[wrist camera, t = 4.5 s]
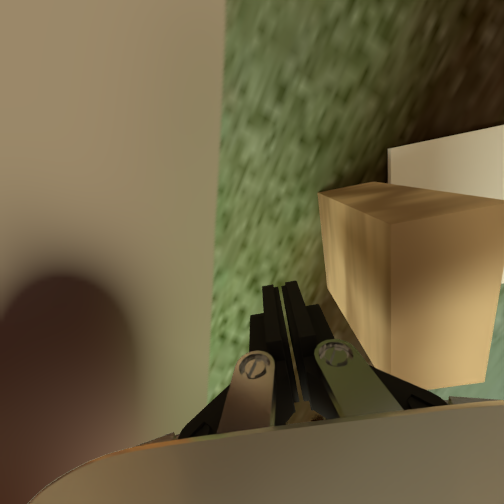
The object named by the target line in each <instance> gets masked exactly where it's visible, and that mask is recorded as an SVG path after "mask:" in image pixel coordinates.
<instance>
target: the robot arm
mask: <svg viewBox="0 0 504 504" xmlns="http://www.w3.org/2000/svg"><path fill="white" fill-rule="evenodd" d="M281 287H282V292H283V298H284V304H285V309H286V315H287V321H288V326H289V332H290V337H291V342H292V347H293V352H294V356H295V361H296V366H297V371H298V376H299V380H300V385H301V390H302V395H303V400H304V401H309V402H310V406H311V410H315V411H316V412H317V413H319V414H320V415H322V416H323V419H324V420H320V421H312V422H305V423H297V424H289V425H288V422H287V421H288V420H289V418H290V417H291V416H292V414H293V413H294V412H295V406H294V402H299V397H298V392H297V386H296V381H295V375H294V370H293V365H292V359H291V354H290V348H289V343H288V337H287V332H286V327H285V322H284V316H283V311H282V306H281V300H280V295H279V290H278V287H273V285H268V286H262V291H263V307H264V313H261V314H255V315H251V316H250V344H249V353H246V354H245V355H243V356H242V357H241V358H240V359H239V360H238V361H237V363H236V365H235V369H234V372H233V376H232V380H231V383H230V385H229V386H228V387H226V388H225V389H224V390H223V391H222V392H221V393H220V394H219V395H218V396H217V397H216V398H215V399H214V400H212V401H211V402H210V403H209V404H208V405H207V406H206V407H205V408H204V409H203V410H202V411H201V412H200V413H199V414H197V415H196V416H195V418H193V419H192V420H191V421H190V422H189V423H188V424H187V425H186V426H185V427H184V428H183V429H182V431H181V433H180V434H178V435H175V434H174V432H173V433H170V434H167V435H164V436H162V437H159V438H156V439H154V440H151V441H148V442H145V443H142V444H140V445H137V446H134V447H132V448H127V449H123V450H120V451H116V452H112V453H109V454H106V455H104V456H101V457H99V458H96V459H94V460H91V461H88V462H86V463H84V464H83V465H81V466H79V467H77V468H75V469H73V470H71V471H69V472H67V473H65V474H64V475H62V476H61V477H59V478H57V479H56V480H55V481H53V482H52V483H50V484H49V485H47V486H46V487H45V488H44V489H43V490H41V491H40V492H39V493H38V494H37V495H35V497H33V499H32V500H31V501H30V502H29V503H28V504H504V400H494V399H480V398H467V397H453V396H449V400H443V399H441V398H440V397H439V396H437V395H435V394H433V393H431V392H430V391H427V390H425V389H423V388H420V387H418V386H416V385H413V384H411V383H409V382H407V381H404V380H402V379H400V378H397V377H395V376H393V375H390V374H388V373H386V372H384V371H381V370H379V369H377V368H374V367H372V366H370V365H368V364H367V362H366V361H365V360H364V359H363V357H362V356H361V355H360V353H359V352H358V351H357V350H356V348H355V347H354V346H352V345H351V344H350V343H348V342H346V341H343V340H339V339H334V336H333V334H332V332H331V330H330V328H329V325H328V323H327V321H326V319H325V317H324V315H323V312H322V310H321V308H320V306H319V304H316V305H310V306H305V304H304V301H303V298H302V295H301V292H300V290H299V287H298V284H297V281H291V282H285V286H281Z"/></svg>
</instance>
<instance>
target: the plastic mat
mask: <svg viewBox="0 0 504 504" xmlns="http://www.w3.org/2000/svg"><path fill="white" fill-rule="evenodd" d="M388 184H395V185H402V186H409V187H416V188H423V189H430V190H437V191H444V192H451V193H458V194H465V195H472V196H480V197H487V198H494V199H501V200H504V125H500V126H495V127H490V128H486V129H481V130H476V131H471V132H466V133H462V134H457V135H452V136H447V137H442V138H437V139H433V140H428V141H423V142H418V143H413V144H409V145H404V146H399V147H394V148H389V149H388ZM502 283H504V268H503V274H502V280H501V284H502Z"/></svg>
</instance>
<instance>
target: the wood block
mask: <svg viewBox="0 0 504 504" xmlns="http://www.w3.org/2000/svg"><path fill="white" fill-rule="evenodd" d="M318 201H319V211H320V220H321V230H322V239H323V249H324V259H325V268H326V278H327V287H328V290H329V291H330V293H331V295H332V296H333V298H334V300H335V301H336V303H337V305H338V306H339V308H340V310H341V311H342V313H343V315H344V316H345V318H346V320H347V321H348V323H349V325H350V326H351V328H352V330H353V331H354V333H355V335H356V336H357V338H358V340H359V342H360V343H361V345H362V347H363V348H364V350H365V352H366V353H367V355H368V357H369V358H370V360H371V362H372V363H373V365H374V367H375V368H377V369H379V370H381V371H384V372H386V373H388V374H390V375H393V376H395V377H397V378H400V379H402V380H404V381H407V382H409V383H411V384H413V385H416V386H418V387H420V388H423V389H425V390H429V389H437V388H444V387H451V386H459V385H466V384H474V383H481V382H484V381H485V375H486V369H487V363H488V357H489V351H490V345H491V340H492V334H493V328H494V322H495V316H496V310H497V304H498V298H499V292H500V286H501V280H502V274H503V268H504V200H501V199H494V198H487V197H480V196H472V195H465V194H458V193H451V192H444V191H437V190H430V189H423V188H416V187H409V186H402V185H395V184H387V183H380V182H368V183H363V184H358V185H353V186H348V187H343V188H338V189H333V190H328V191H323V192H318Z"/></svg>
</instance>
